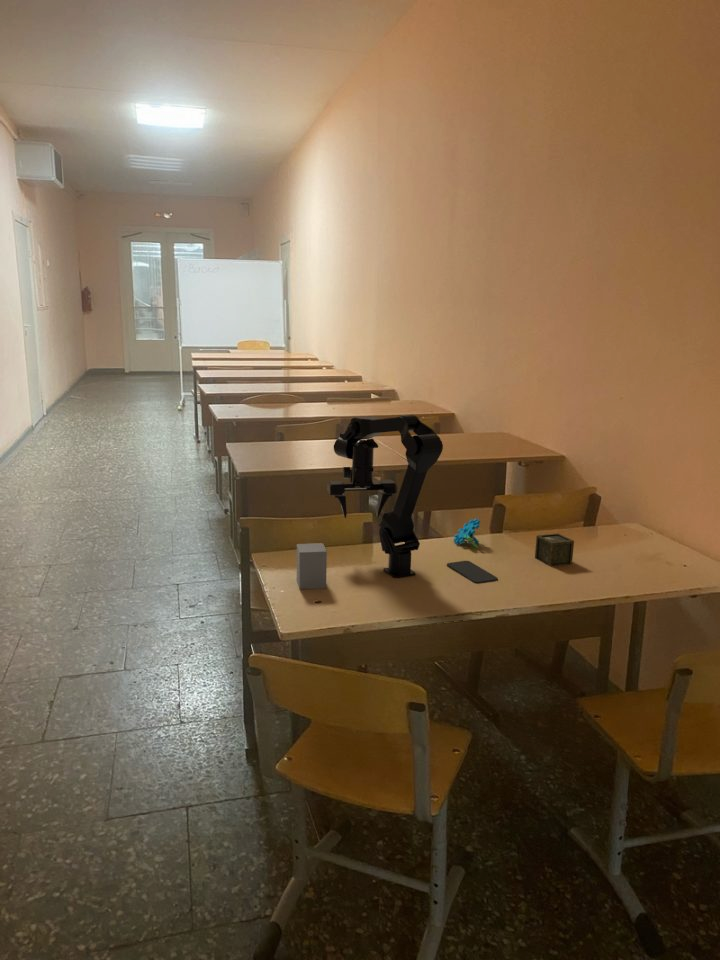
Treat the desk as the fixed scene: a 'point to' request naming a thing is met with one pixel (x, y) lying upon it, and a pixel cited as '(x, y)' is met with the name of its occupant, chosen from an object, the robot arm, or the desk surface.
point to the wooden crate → (554, 549)
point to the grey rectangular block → (311, 566)
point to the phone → (472, 572)
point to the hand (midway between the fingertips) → (361, 517)
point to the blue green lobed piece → (468, 533)
